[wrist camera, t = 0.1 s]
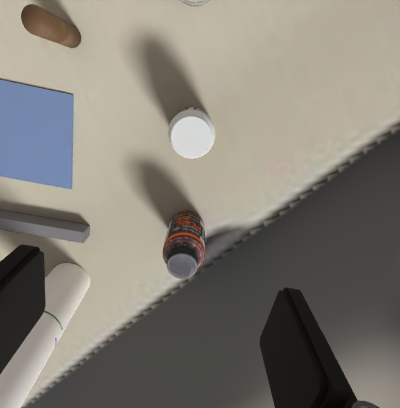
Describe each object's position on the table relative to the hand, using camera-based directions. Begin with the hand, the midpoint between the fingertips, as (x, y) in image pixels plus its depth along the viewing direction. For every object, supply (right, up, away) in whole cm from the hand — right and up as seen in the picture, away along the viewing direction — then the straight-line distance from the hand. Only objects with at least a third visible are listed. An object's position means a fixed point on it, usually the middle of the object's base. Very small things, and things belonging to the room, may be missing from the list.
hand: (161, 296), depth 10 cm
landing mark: (-24, +14, +28) cm, 39 cm away
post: (-15, +25, +23) cm, 37 cm away
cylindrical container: (-22, -10, +38) cm, 45 cm away
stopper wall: (-27, +1, +33) cm, 43 cm away
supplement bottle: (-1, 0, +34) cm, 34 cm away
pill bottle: (+1, +15, +28) cm, 32 cm away
